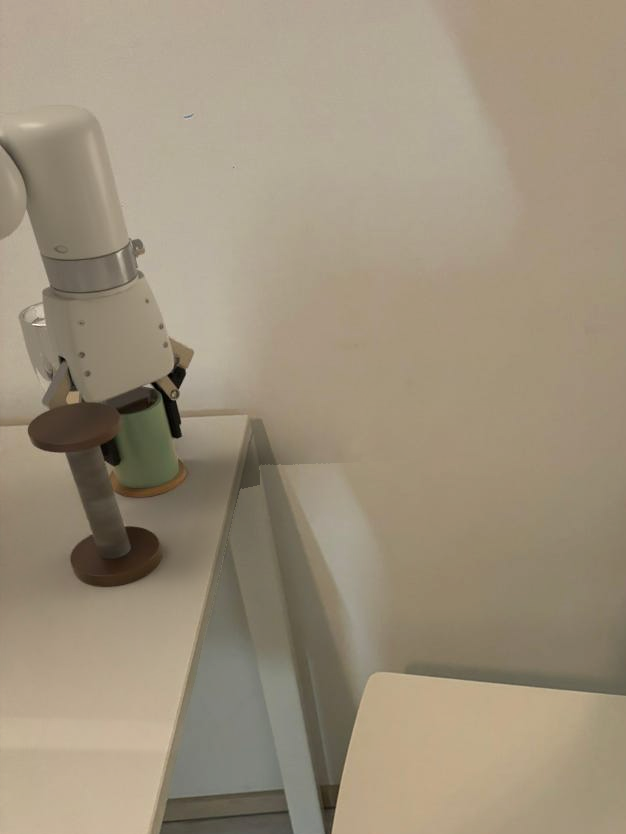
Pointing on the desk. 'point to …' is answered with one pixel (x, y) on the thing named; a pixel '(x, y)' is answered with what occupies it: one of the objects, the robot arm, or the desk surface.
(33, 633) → the desk surface
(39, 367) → the beer glass
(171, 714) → the desk surface
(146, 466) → the cup
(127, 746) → the desk surface
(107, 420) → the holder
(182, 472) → the coaster
